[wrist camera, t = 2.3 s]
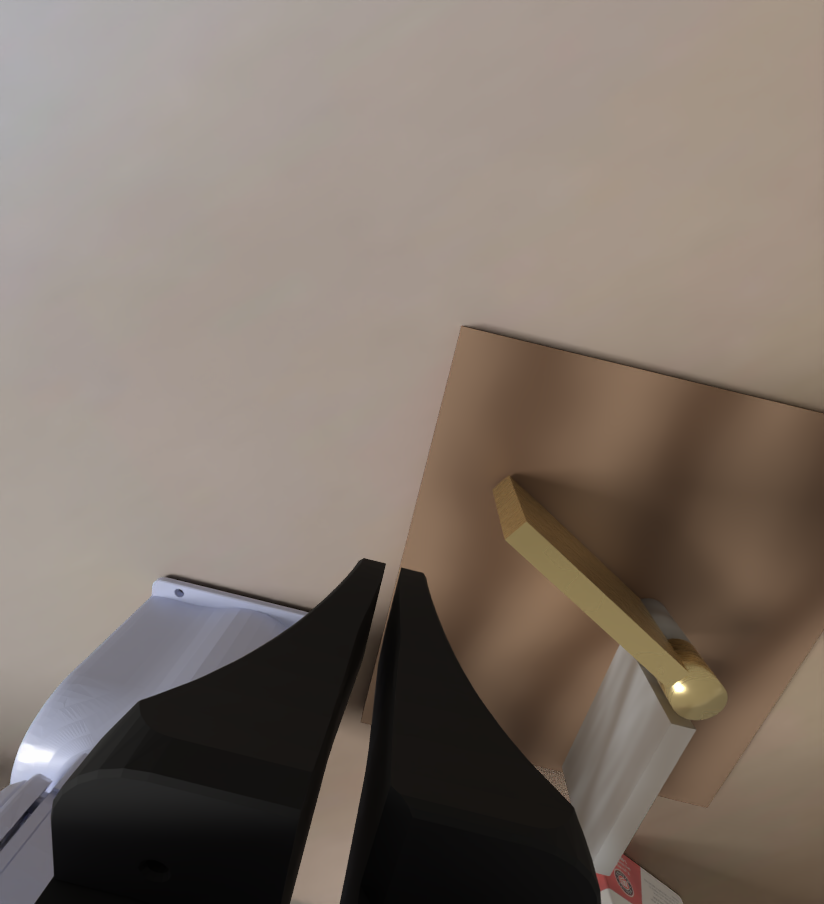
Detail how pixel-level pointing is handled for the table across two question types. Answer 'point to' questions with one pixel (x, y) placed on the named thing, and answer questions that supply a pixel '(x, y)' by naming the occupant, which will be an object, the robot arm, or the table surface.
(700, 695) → the hinge leaf
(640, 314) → the table surface
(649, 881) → the ink cartridge box
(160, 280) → the table surface
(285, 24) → the table surface
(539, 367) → the hinge base
